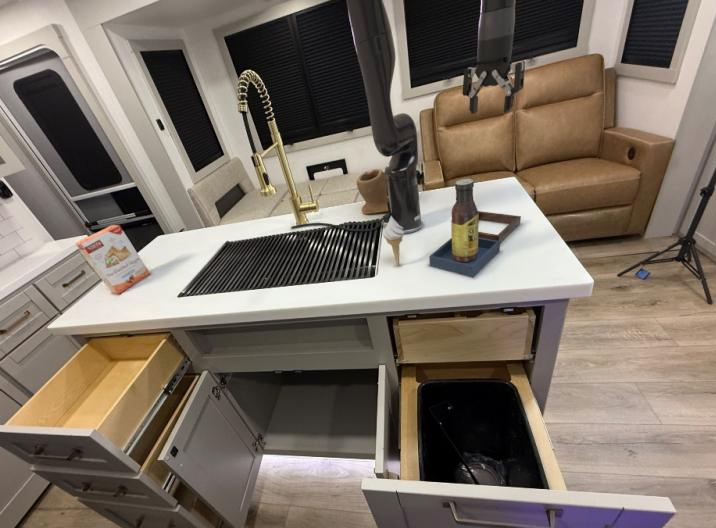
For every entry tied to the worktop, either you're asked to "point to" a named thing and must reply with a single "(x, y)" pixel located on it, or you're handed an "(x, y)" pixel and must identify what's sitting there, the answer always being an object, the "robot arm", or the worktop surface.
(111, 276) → the cracker box
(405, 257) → the worktop surface
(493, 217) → the walnut frame
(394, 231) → the ice cream cone
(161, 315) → the worktop surface
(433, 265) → the slate tray
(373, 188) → the stone cup
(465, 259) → the sauce bottle
